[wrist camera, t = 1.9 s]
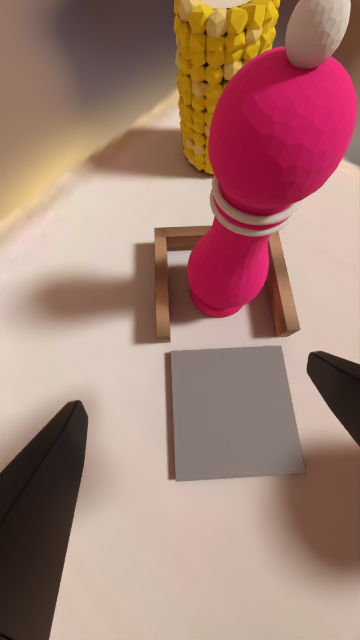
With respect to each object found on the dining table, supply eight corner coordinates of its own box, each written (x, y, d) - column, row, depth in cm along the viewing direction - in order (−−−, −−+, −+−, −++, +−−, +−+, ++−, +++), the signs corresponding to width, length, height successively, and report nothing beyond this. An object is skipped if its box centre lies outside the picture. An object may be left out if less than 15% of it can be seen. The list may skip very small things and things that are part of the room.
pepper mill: (232, 334, 24) (440, 94, 5) (173, 301, 25) (156, 3, 6) (261, 280, 26) (489, -38, 7) (205, 252, 27) (267, -88, 8)
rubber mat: (302, 471, 20) (305, 473, 19) (175, 479, 20) (175, 481, 19) (278, 346, 23) (281, 345, 23) (170, 352, 23) (170, 351, 23)
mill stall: (288, 336, 24) (300, 329, 21) (158, 342, 24) (156, 336, 21) (267, 237, 28) (276, 223, 25) (156, 242, 27) (154, 227, 25)
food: (226, 197, 32) (169, 167, 34) (275, 130, 32) (215, 105, 34) (232, 55, 17) (129, 20, 19) (321, -66, 17) (210, -86, 20)
